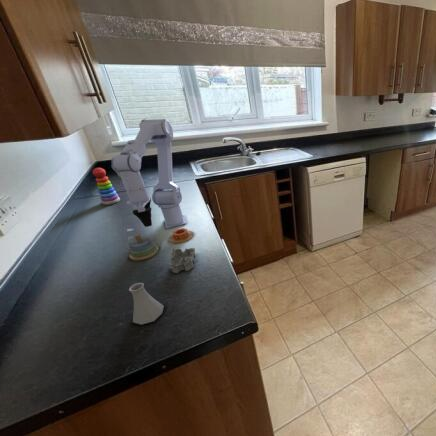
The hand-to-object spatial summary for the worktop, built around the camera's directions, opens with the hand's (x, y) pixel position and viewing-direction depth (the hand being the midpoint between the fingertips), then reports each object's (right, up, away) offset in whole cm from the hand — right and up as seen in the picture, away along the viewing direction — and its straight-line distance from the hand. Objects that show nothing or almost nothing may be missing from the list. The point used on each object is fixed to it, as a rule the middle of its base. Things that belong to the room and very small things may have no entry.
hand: (148, 221), depth 102 cm
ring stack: (0, -12, -2) cm, 12 cm away
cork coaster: (+8, -6, +8) cm, 13 cm away
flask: (+19, -25, -28) cm, 42 cm away
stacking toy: (-47, +10, +41) cm, 63 cm away
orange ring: (+8, -6, +7) cm, 13 cm away
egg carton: (+18, -15, -8) cm, 24 cm away
